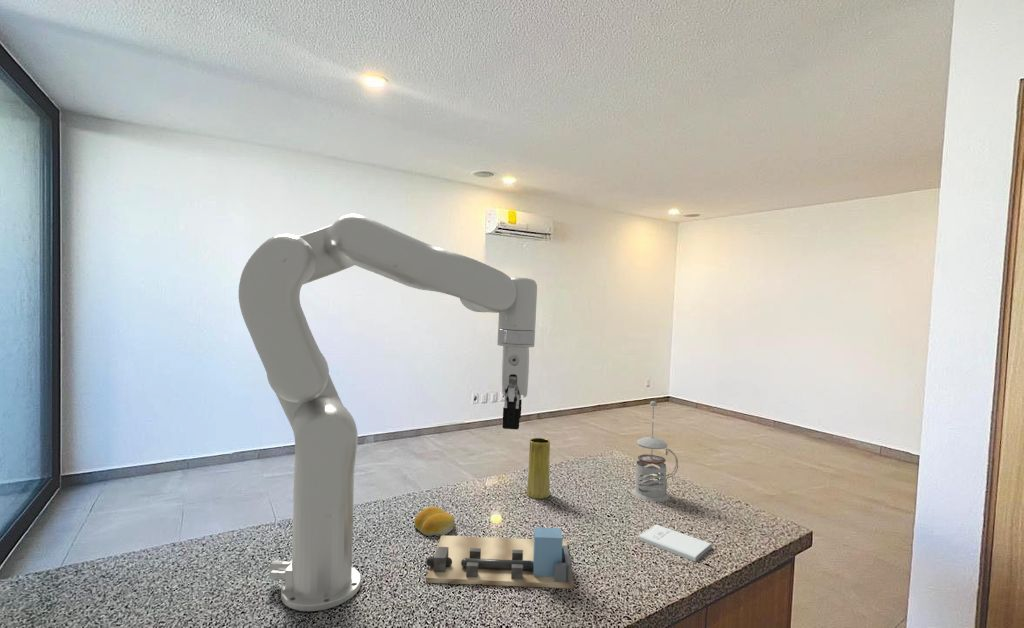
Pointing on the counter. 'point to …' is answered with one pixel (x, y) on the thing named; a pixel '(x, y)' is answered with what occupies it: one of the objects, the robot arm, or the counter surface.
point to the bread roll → (434, 521)
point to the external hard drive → (675, 542)
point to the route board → (459, 547)
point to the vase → (539, 468)
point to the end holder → (563, 567)
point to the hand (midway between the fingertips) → (511, 423)
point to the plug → (543, 554)
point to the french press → (652, 470)
